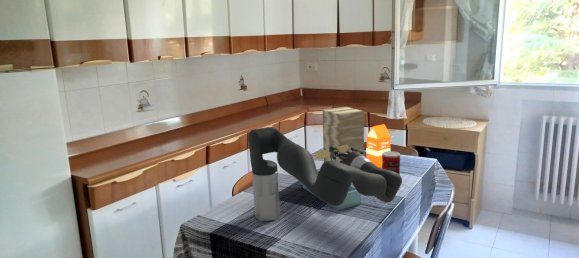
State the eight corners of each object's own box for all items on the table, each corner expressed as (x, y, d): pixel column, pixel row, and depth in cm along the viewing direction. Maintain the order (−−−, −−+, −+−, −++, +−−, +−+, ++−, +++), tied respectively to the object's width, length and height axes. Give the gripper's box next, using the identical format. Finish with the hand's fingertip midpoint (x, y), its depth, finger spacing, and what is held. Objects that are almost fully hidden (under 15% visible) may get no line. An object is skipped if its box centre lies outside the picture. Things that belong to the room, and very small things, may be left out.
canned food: (387, 172, 194) (388, 150, 191) (403, 176, 188) (403, 153, 186) (378, 177, 189) (378, 153, 186) (394, 180, 183) (394, 157, 181)
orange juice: (390, 164, 205) (390, 125, 200) (377, 168, 200) (378, 128, 196) (378, 160, 211) (379, 122, 207) (366, 164, 207) (366, 125, 202)
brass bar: (349, 152, 159) (347, 144, 159) (340, 153, 157) (338, 145, 157) (323, 158, 179) (322, 151, 179) (315, 159, 177) (314, 152, 178)
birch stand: (364, 182, 182) (364, 111, 175) (341, 188, 177) (340, 114, 170) (346, 173, 195) (345, 106, 187) (324, 178, 190) (322, 109, 182)
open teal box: (360, 204, 160) (360, 189, 159) (337, 210, 155) (337, 195, 154) (323, 182, 184) (323, 170, 183) (302, 187, 180) (302, 174, 178)
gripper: (376, 153, 151) (351, 136, 166) (343, 159, 145) (320, 141, 160) (374, 171, 154) (349, 153, 168) (342, 178, 148) (319, 159, 163)
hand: (335, 147), depth 164 cm, fingers closed on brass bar, 4 cm apart
